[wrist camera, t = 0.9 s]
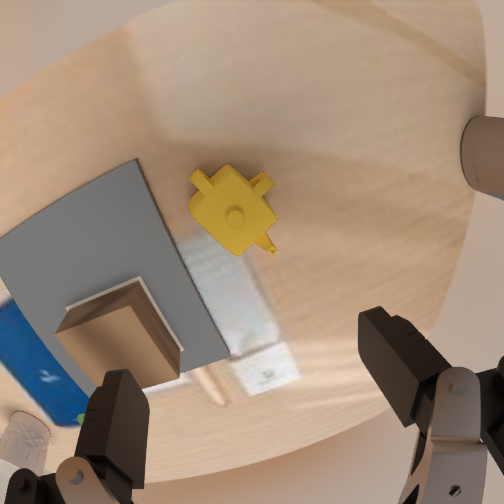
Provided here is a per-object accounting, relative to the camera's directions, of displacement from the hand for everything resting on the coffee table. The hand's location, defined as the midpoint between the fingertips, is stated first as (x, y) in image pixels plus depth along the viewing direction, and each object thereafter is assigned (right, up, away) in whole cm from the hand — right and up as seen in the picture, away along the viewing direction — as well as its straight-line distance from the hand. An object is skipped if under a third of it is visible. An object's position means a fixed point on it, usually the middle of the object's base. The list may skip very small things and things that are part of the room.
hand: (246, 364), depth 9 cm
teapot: (-1, +8, +15) cm, 17 cm away
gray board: (-14, -1, +16) cm, 21 cm away
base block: (-12, -4, +16) cm, 20 cm away
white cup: (-33, -22, +21) cm, 45 cm away
